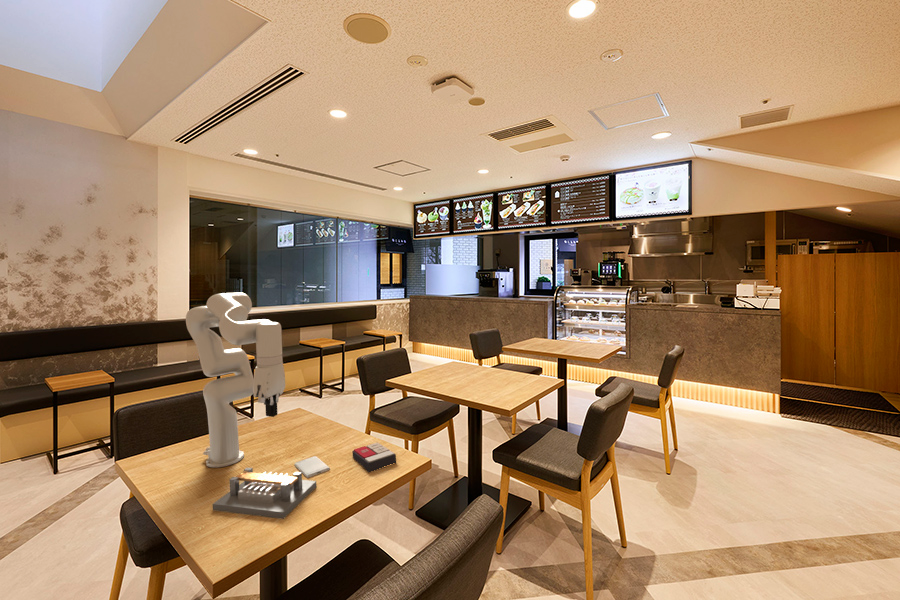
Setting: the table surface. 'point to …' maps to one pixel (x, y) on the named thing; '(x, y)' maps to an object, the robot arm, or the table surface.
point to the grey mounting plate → (264, 503)
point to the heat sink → (264, 489)
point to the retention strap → (266, 478)
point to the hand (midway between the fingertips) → (271, 415)
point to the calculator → (374, 456)
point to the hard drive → (311, 466)
